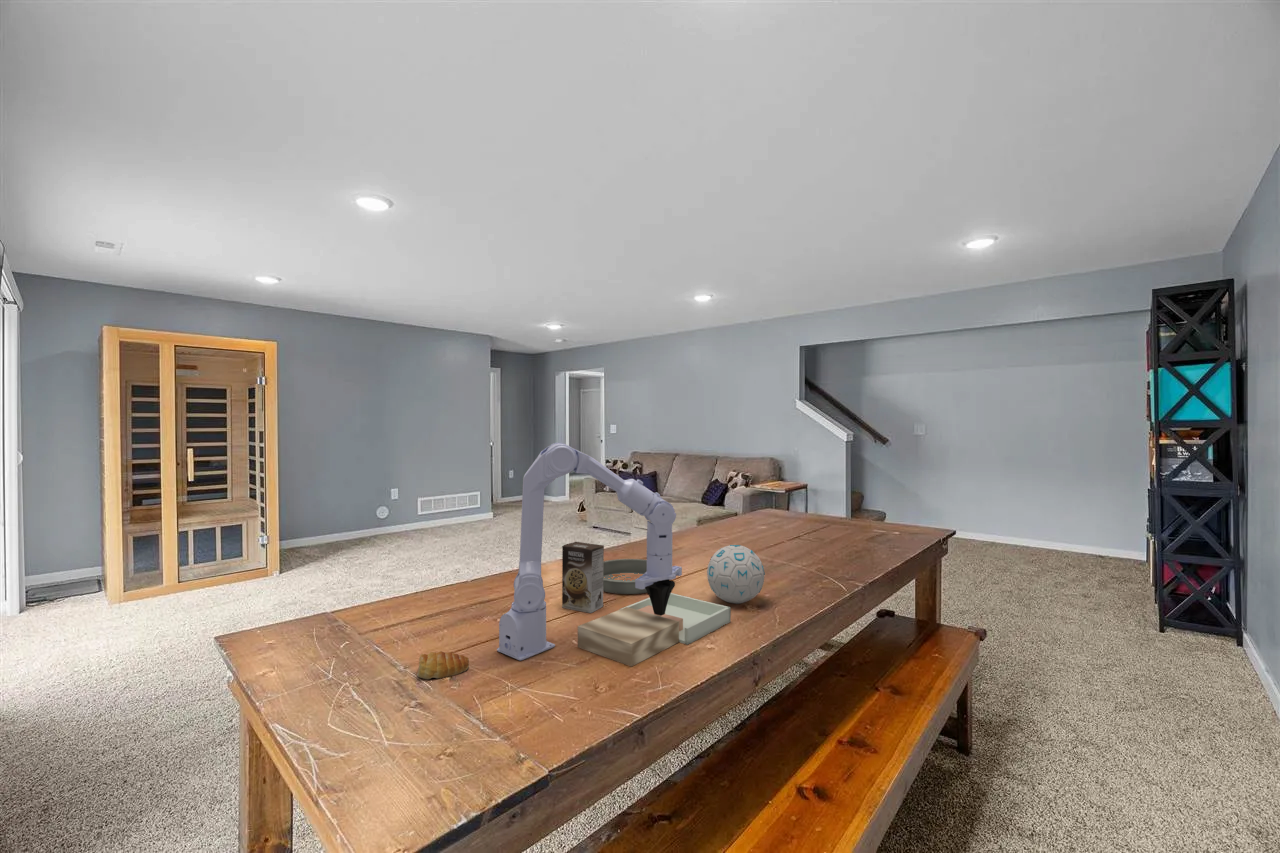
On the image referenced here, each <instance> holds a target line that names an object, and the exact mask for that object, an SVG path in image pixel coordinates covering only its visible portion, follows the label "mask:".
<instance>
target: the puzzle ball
mask: <svg viewBox="0 0 1280 853" xmlns="http://www.w3.org/2000/svg"><path fill="white" fill-rule="evenodd" d="M706 575H707V577H706V578H707V582H708V585H709V587H710V589H711V591H712V592H713V593H714V594H715V596H716V597H718V598H719V599H721V600H722V601H724V602H726V603H730V604H736V605H740V604H743V603H747V602H749V601H752V599H755V597H756V596H757V595H758V594H759V593H761V590H762V588H763V585H764V582H765V575H766V573H765V569H764V565H763V562H762V561H761V559H760V557H759V556H758V555H757V554H756V553H755V552H754V551H753V550H752V549H750V548H748V547H746V546H744V545H741V544H730V545H725V546H724V547H721V548H719V549H718V550H716V552H714V554H713V555H712V556H711V557H710V560H709V562H708V564H707V569H706Z"/></svg>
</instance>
